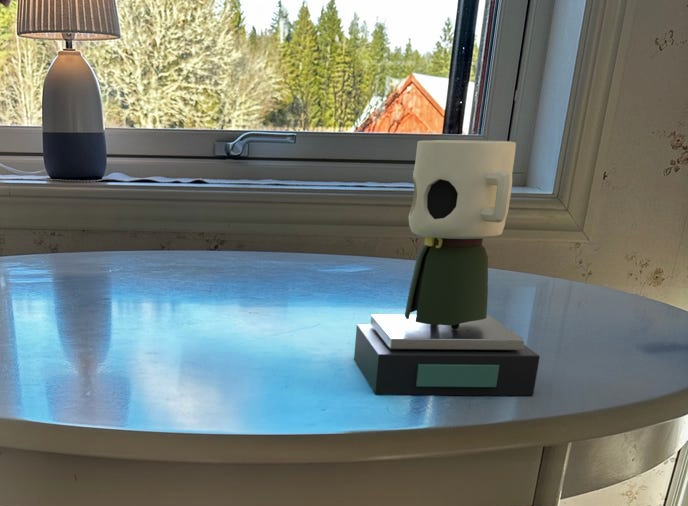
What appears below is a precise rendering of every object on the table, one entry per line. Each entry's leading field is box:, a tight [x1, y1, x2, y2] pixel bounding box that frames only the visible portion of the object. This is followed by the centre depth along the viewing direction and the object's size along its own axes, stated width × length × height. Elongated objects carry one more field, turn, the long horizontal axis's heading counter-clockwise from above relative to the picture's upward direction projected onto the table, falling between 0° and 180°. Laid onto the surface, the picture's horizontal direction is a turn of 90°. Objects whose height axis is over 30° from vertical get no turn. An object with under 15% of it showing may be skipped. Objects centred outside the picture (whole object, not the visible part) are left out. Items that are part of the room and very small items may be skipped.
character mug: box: [404, 139, 517, 329], centre depth 72 cm, size 11×7×13 cm, turn 23°
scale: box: [353, 323, 541, 397], centre depth 77 cm, size 12×12×3 cm
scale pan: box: [370, 314, 525, 350], centre depth 76 cm, size 10×10×1 cm
